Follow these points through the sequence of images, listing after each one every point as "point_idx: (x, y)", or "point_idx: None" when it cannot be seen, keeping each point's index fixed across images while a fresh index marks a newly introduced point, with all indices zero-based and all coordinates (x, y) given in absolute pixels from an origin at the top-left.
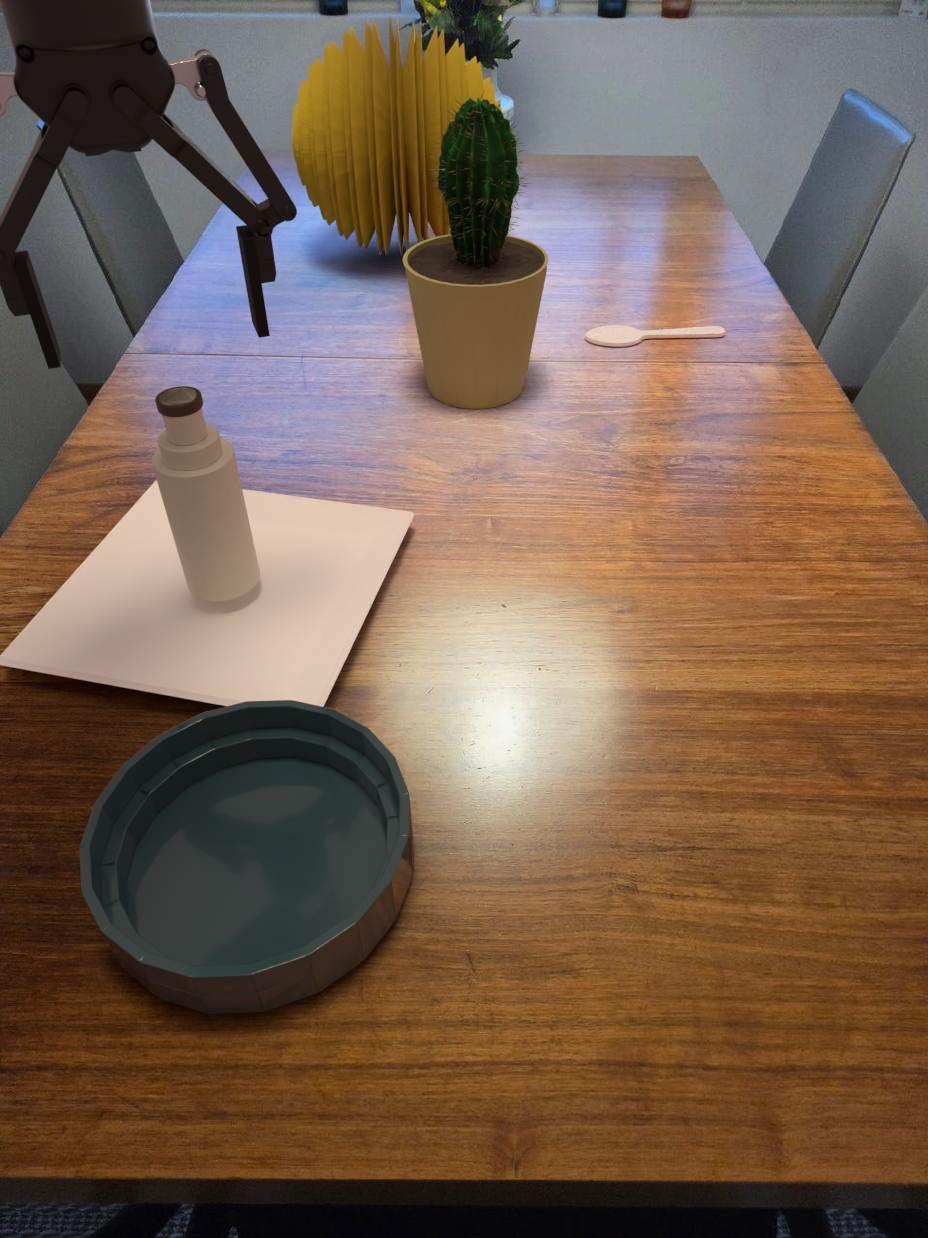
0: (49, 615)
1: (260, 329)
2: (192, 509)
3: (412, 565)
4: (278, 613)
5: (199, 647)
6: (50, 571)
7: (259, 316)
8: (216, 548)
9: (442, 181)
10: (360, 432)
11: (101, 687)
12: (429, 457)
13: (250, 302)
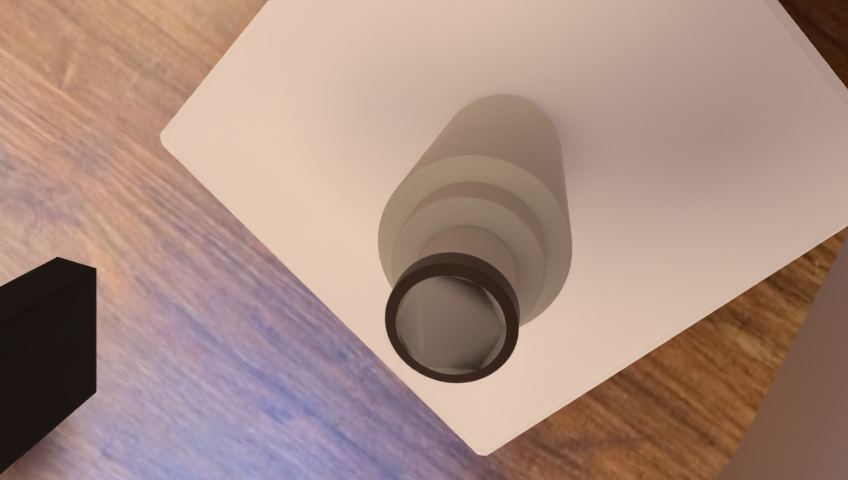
0: (780, 244)
1: (63, 278)
2: (531, 150)
3: (215, 48)
4: (453, 47)
5: (600, 41)
6: (709, 370)
7: (16, 301)
8: (509, 118)
9: None
10: (166, 396)
11: None
12: None
13: (17, 404)
